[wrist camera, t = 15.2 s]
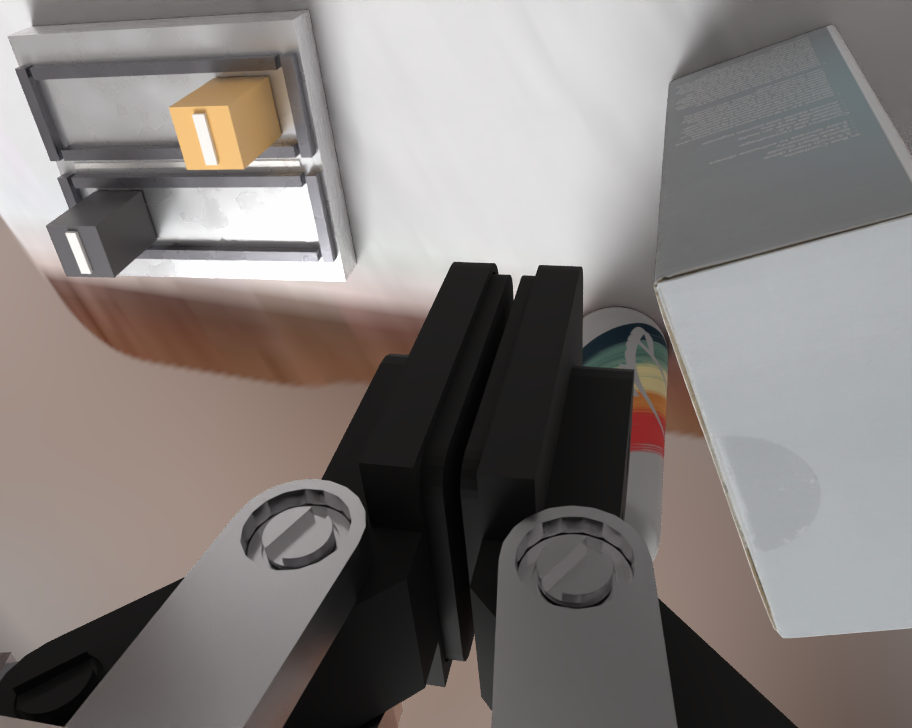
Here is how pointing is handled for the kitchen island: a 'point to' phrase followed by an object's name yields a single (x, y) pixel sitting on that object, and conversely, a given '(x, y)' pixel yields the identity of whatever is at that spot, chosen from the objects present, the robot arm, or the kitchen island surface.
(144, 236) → the fader
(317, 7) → the kitchen island surface
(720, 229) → the hard drive box
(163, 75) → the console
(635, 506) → the lotion bottle
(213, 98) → the fader
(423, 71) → the kitchen island surface
